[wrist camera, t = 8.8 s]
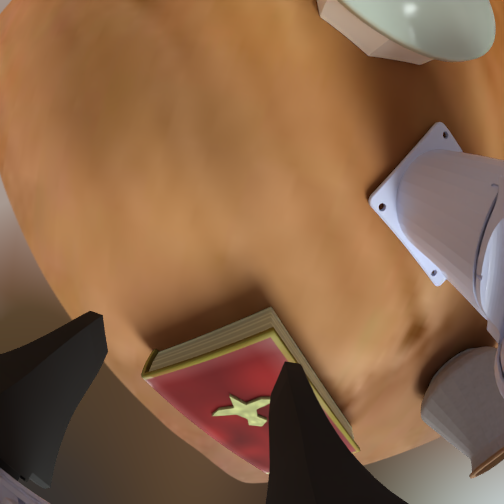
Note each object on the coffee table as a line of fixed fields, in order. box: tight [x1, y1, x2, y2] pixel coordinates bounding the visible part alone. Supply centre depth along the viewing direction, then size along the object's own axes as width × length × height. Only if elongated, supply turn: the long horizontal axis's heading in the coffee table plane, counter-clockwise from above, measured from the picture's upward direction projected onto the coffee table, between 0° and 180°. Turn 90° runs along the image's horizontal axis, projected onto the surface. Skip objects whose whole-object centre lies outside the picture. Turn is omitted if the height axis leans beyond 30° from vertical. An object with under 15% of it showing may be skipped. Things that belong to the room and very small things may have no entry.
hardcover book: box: [141, 307, 360, 474], centre depth 22 cm, size 12×21×4 cm, turn 30°
